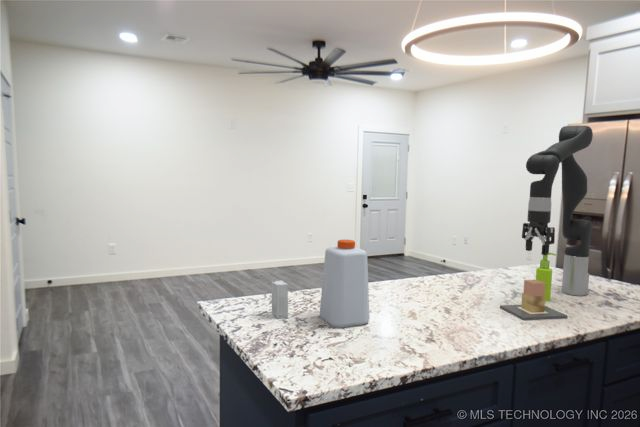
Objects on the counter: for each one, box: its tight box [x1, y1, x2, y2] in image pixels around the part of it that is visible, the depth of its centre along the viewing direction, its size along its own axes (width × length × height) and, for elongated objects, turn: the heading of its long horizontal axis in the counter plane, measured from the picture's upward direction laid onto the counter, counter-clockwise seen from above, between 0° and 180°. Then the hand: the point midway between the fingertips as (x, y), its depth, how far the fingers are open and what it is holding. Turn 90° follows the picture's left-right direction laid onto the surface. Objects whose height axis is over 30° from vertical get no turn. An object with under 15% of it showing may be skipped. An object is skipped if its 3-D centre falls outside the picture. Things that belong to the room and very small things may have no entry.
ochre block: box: [520, 292, 546, 313], centre depth 156 cm, size 6×6×6 cm
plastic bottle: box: [319, 239, 370, 328], centre depth 143 cm, size 15×15×28 cm
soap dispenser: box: [535, 252, 557, 302], centre depth 173 cm, size 6×7×20 cm
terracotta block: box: [523, 279, 545, 297], centre depth 155 cm, size 5×5×5 cm
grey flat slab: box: [499, 304, 568, 321], centre depth 156 cm, size 18×14×1 cm
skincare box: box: [270, 279, 289, 320], centre depth 146 cm, size 6×4×12 cm
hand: (536, 252), depth 154 cm, fingers open, 8 cm apart
